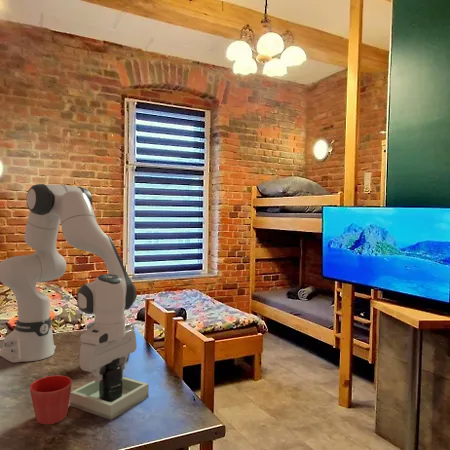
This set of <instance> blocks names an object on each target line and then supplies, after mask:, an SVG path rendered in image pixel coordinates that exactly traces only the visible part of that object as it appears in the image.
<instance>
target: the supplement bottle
mask: <svg viewBox="0 0 450 450" xmlns="http://www.w3.org/2000/svg"><path fill="white" fill-rule="evenodd" d="M119 364H120V358H117V359H115V360H112V362H111V363H108V364H106V365H104V366H102V367H100V371H98V372H99V374H100V375H102V381H100V382H99V398H100V399H101V400H104V401H107V402H111V401H115V400H117V399H118V398H120V397H122V391H123V377H124V376H123V375H124V370H123V368H122V366H121V365H119Z"/></svg>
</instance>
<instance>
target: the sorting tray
mask: <svg viewBox="0 0 450 450" xmlns="http://www.w3.org/2000/svg"><path fill="white" fill-rule="evenodd" d="M149 385H150V384H149V383H147V382H144V381H140V380H136V379H133V378H129V377H126V376H123V391H122V397H120V398H118V399H117V400H115V401H111V402H107V401H104V400H101V399H100V398H99V382H95V381H94V380H93V381H90V382H89V383H86V384H85V385H82V386H80V387H78V388H76V389H74V390H72V391H71V392H70V399H69V406H70V407H73V408H76V409H79V410H82V411H84V412H87V413H90V414H92V415H95V416H99V417H101V418H104V419H107V420H110V421H112V420H113V419H114V418H116V417H118V416H119V415H121V414H123V413H125V412H126V411H127V410H129V409H131V408H132V407H134V406H136V405H138V404H139V403H141V402H142V401H144V400H146V399H147V398H149V395H150V394H149V388H150V387H149Z"/></svg>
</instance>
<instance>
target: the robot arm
mask: <svg viewBox="0 0 450 450" xmlns="http://www.w3.org/2000/svg"><path fill="white" fill-rule="evenodd" d="M26 206H27V208H28V210H29V213H28V217H27V221H26V226H25V231H24V236H23V239H24V241H25V244H26V245H27V246H29V247H30V248H32V249H33V250H34V253H32V254H25V255H15V256H11V257H8V258H5V259H2V260H1V261H0V283H1V284H3V285H4V286H6V287H7V288H9V289H10V290H11V292H12V293H13V294H14V296H15V297H14V298H15V299H16V300H15V301H16V305H17V306H16V307H17V319H16V320H14V322H13V324H15V327H14V329H13V330H12V331H10V333H9V334H8V335H6V336H5V337H4V339H3V347H2V348H0V357H1V358H3V359H4V360H7V361H8V362H10V363H12V364H14V363H15V364H16V363H22V362H33V361H40V360H41V361H42V360H45V359H47V358H49V357H51V356H53V355H54V354H55V349H56V347H57V346H56V345H55V344H54V336H53V335H54V334H53V333H54V332H53V330H52V328H51V326H52V318H51V315H50V314H51V313H50V298H49V297H48V295H47V294H45V293H43V292H41V291H38V289H37V286H36V285H37V284H39V283H44V282H49V281H55V280H58V279H59V278H61V277H63V276H64V275H65V273H66V271H67V261H66V259H65V258H64V256H63V255H62V254H60V253H59V251H58V248H57V241H58V233H59V230H60V226H61V230H62V234H63V237H64V239H65V241H66V242H67V244H69V245H70V246H71V247H73V248H75V249H77V250H80V251H84V252H88V253H92V254H93V255H94V254H95V255H96V256H98V257H99V258H101V259H102V261H103V262H104V265H105V267H106V268H107V269H106V270H107V271H108V273H106V274H100V275H99V276H96V279H95V280H94V281H91V282H88V283H84V284H82V285H81V286H80V288H79V289H78V292H77V294H76V305H77V308H78V310H80V311H81V312H82V313H84V314H85V315H86V314H87V315H94V316H95V317H94V322H95V324H94V325H92V326H91V327H90V328H89V329H88V330H87V329H86V330H85V331H84V332H83V333H81V335H80V337H79V338H80V342H82V343H81V345H80V348H79V368H80V369H81V370H82V371H85V372H88V373H90V372H91V373H92V375H93V377H94V378H93V381H95V382H100V381H102V375H100V374H99V371H100V368H101V367H102V366H104V365H106V364H108V363H111V362H112V360H115V359H117V358H119V361H120V364H119V365H121V366H122V368H123V371H124V370H126V363H127V361H128V358H129V355H130V354H132V353H135V352H136V350H137V336H136V335H137V334H136V332H135V325H134V324H133V323H132V322H128V323H127V322H126V315H125V310H129V309H130V308H131V307H132V306H133V304H134V303H135V301H136V299H137V294H138V293H137V288H136V286H135V284H134V282H133V281H132V279H131V278H130V277H129V274H128V272H127V270H126V268H125V266H124V263H123V261H122V259H121V256H120V254H119V251H118V249H117V247H116V245H115V242H113V240H112V238H111V237H110V235H108V234H106V233H105V231H103V230H102V229H101V227H100V226H99V223H98V221H97V218H96V214H95V211H94V208H93V196H92V194H91V192H90V191H89V189H87V188H85V187H83V186H75V185H74V186H73V185H68V184H44V183H39V184H33V185H32V186H31V187H30V188H28V191H27V194H26Z"/></svg>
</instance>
